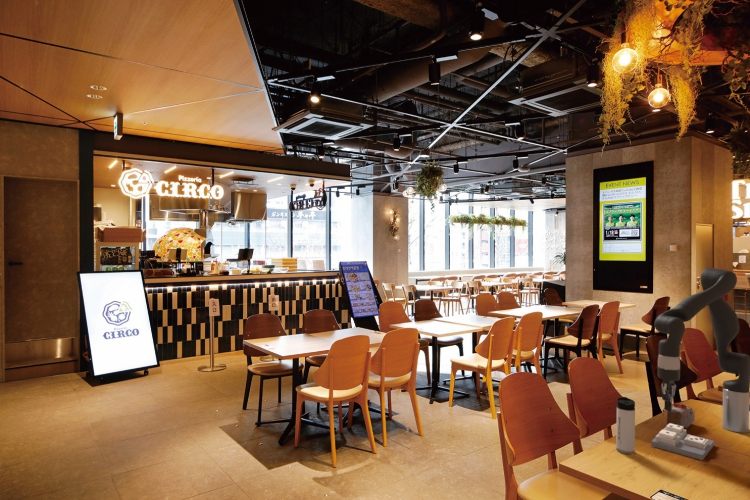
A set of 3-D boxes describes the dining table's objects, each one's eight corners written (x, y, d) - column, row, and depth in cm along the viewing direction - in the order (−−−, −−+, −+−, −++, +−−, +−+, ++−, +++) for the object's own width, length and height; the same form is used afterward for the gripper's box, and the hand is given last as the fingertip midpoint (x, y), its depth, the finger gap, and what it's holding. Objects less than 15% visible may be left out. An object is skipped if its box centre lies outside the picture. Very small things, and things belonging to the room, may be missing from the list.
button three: (690, 440, 187) (690, 435, 187) (705, 444, 183) (705, 438, 183) (686, 444, 183) (687, 438, 183) (702, 448, 179) (702, 442, 179)
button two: (669, 427, 196) (669, 422, 196) (683, 431, 192) (683, 426, 192) (666, 431, 193) (666, 425, 193) (680, 434, 189) (680, 429, 189)
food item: (675, 419, 215) (676, 398, 215) (696, 424, 209) (696, 403, 209) (664, 426, 207) (664, 404, 207) (684, 432, 201) (685, 409, 201)
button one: (662, 434, 189) (662, 428, 189) (676, 437, 186) (676, 432, 186) (658, 437, 186) (658, 432, 186) (673, 441, 182) (673, 436, 182)
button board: (665, 433, 199) (665, 423, 199) (713, 445, 187) (714, 435, 187) (651, 446, 186) (651, 436, 186) (702, 460, 174) (702, 449, 174)
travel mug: (632, 448, 183) (633, 397, 183) (636, 455, 177) (636, 402, 177) (614, 446, 185) (615, 395, 185) (617, 453, 179) (618, 401, 179)
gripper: (663, 362, 193) (662, 404, 193) (652, 367, 184) (652, 411, 184) (684, 365, 187) (683, 408, 187) (675, 371, 178) (674, 416, 178)
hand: (668, 410), depth 186 cm, fingers closed
